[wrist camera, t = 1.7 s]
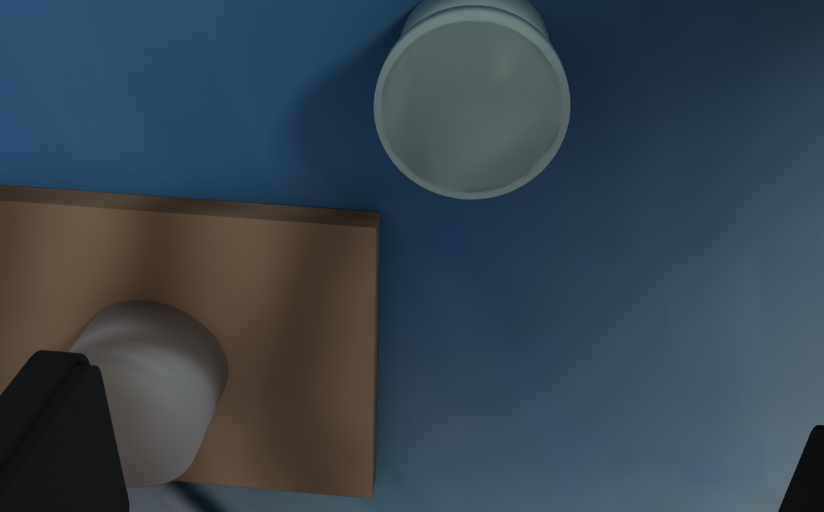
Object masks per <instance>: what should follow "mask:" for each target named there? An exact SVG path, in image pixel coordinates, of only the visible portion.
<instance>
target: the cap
mask: <svg viewBox="0 0 824 512" xmlns="http://www.w3.org/2000/svg"><path fill="white" fill-rule="evenodd" d="M374 119H375V124H376V129H377V132H378V135H379V138H380V141H381V143H382V145H383V147H384V149H385V151H386V153H387V154H388V156H389V157H390V159H391V160H392V162H393V163H394V164H395V165H396V166H397V167H398V169H399V170H400V171H401V172H402V173H404V174H405V175H406V176H407V177H408V178H409V179H411V180H412V181H414V182H415V183H416V184H418V185H420V186H422V187H423V188H425V189H427V190H429V191H432V192H434V193H437V194H440V195H443V196H447V197H451V198H458V199H485V198H491V197H495V196H500V195H503V194H506V193H508V192H511V191H513V190H515V189H517V188H519V187H521V186H523V185H525V184H526V183H528V182H529V181H531V180H532V179H533V178H535V177H536V176H537V175H538V174H539V173H541V172H542V171H543V170H544V169H545V167H546V166H547V165H548V164H549V163H550V162H551V160H552V159H553V158H554V156H555V155H556V153H557V152H558V150H559V148H560V146H561V144H562V142H563V140H564V137H565V134H566V131H567V128H568V123H569V119H570V92H569V87H568V82H567V78H566V75H565V71H564V68H563V66H562V63H561V60H560V58H559V56H558V54H557V52H556V51H555V49H554V47H553V46H552V45H551V43H550V40H549V36H548V32H547V30H546V27H545V24H544V22H543V20H542V18H541V16H540V14H539V13H538V11H537V10H536V9H535V7H534V6H533V5H532V4H531V3H530V2H529V1H528V0H422V1H421V2H420V3H419V4H418V5H417V6H416V7H415V8H414V10H413V11H412V13H411V14H410V15H409V17H408V19H407V21H406V23H405V25H404V28H403V30H402V33H401V36H400V38H399V39H398V41H397V42H396V43H395V45H394V46H393V47H392V49H391V50H390V52H389V54H388V56H387V58H386V60H385V62H384V65H383V67H382V70H381V73H380V75H379V78H378V81H377V85H376V90H375V95H374Z"/></svg>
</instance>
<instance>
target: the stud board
mask: <svg viewBox="0 0 824 512" xmlns="http://www.w3.org/2000/svg"><path fill="white" fill-rule="evenodd" d="M379 248H380V212H370V211H356V210H342V209H328V208H314V207H300V206H286V205H272V204H258V203H244V202H230V201H216V200H202V199H188V198H174V197H160V196H147V195H133V194H119V193H105V192H91V191H77V190H63V189H49V188H35V187H21V186H7V185H0V395H1V394H2V392H3V391H4V390H5V389H6V387H7V386H8V385H9V384H10V382H11V381H12V380H13V379H14V377H15V376H16V375H17V373H18V372H19V371H20V370H21V368H22V367H23V366H24V365H25V363H26V362H27V361H28V360H29V358H30V357H31V356H32V355H33V354H34V353H35V352H37V351H39V350H49V351H61V352H73V353H82V354H85V356H86V357H87V358H88V360H89V363H90V365H96V366H98V367H99V368H100V371H101V374H102V378H103V383H104V387H105V392H106V397H107V401H108V406H109V411H110V415H111V420H112V425H113V429H114V434H115V439H116V443H117V448H118V453H119V457H120V462H121V467H122V471H123V476H124V481H125V485H126V487H150V486H156V485H160V484H164V483H167V482H169V481H183V482H194V483H205V484H216V485H227V486H238V487H249V488H260V489H271V490H282V491H293V492H305V493H316V494H327V495H338V496H349V497H360V498H371V499H372V497H373V490H374V484H375V473H376V417H377V360H378V304H379Z"/></svg>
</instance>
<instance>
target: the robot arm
mask: <svg viewBox="0 0 824 512" xmlns="http://www.w3.org/2000/svg"><path fill="white" fill-rule="evenodd" d="M0 512H129V499H128V495H127V490H126V485H125V481H124V476H123V471H122V467H121V462H120V457H119V453H118V448H117V443H116V439H115V434H114V429H113V425H112V420H111V415H110V411H109V406H108V401H107V397H106V392H105V387H104V383H103V378H102V374H101V371H100V368H99V367H98V366H96V365H90V363H89V360H88V358H87V357H86V356H85V354H82V353H73V352H61V351H49V350H39V351H37V352H35V353H34V354H33V355H32V356H31V357H30V358H29V360H28V361H27V362H26V363H25V365H24V366H23V367H22V368H21V370H20V371H19V372H18V373H17V375H16V376H15V377H14V379H13V380H12V381H11V382H10V384H9V385H8V386H7V387H6V389H5V390H4V391H3V392H2V394H1V395H0ZM778 512H824V425H817V426H815V427H814V428H813V430H812V431H811V433H810V436H809V438H808V441H807V443H806V445H805V448H804V450H803V453H802V455H801V458H800V460H799V462H798V465H797V467H796V470H795V472H794V475H793V477H792V479H791V482H790V484H789V487H788V489H787V492H786V494H785V497H784V499H783V501H782V504H781V506H780V509H779V511H778Z"/></svg>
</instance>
